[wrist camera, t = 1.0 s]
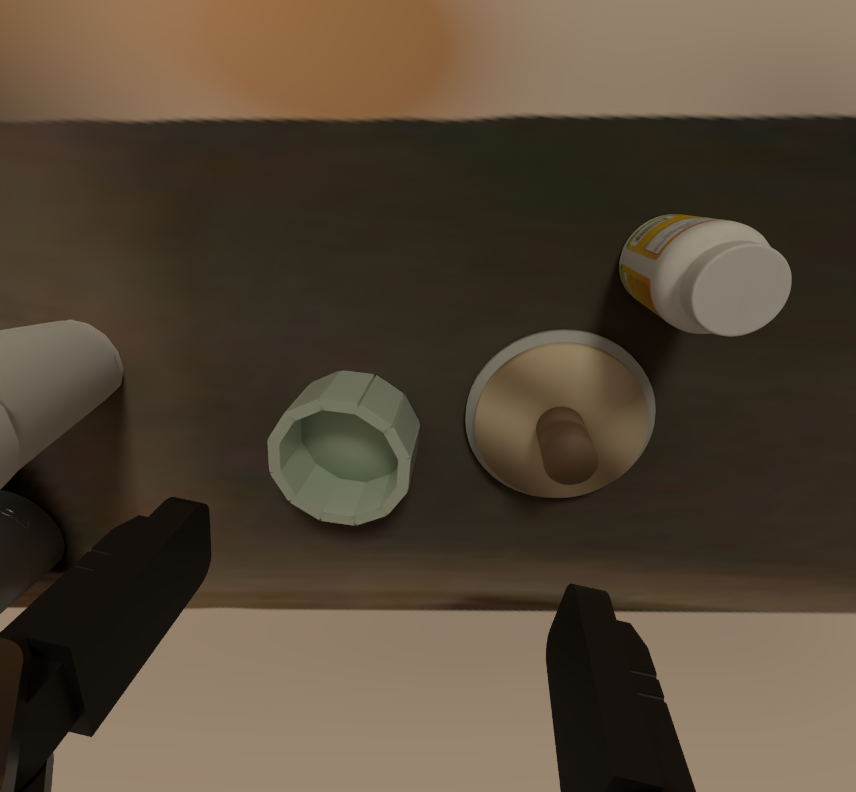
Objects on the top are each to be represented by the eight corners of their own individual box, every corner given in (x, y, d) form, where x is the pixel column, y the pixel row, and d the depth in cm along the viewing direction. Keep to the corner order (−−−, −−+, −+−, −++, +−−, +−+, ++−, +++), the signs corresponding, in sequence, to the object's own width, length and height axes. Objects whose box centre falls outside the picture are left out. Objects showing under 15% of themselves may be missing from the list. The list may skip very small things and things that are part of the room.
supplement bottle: (691, 310, 30) (777, 362, 21) (606, 296, 30) (656, 341, 21) (725, 221, 28) (837, 237, 19) (633, 206, 28) (702, 215, 19)
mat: (565, 521, 38) (566, 526, 37) (430, 431, 36) (430, 434, 35) (694, 402, 32) (698, 406, 32) (546, 289, 31) (547, 291, 30)
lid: (565, 515, 37) (578, 567, 32) (443, 433, 35) (436, 475, 30) (682, 407, 32) (719, 448, 27) (548, 307, 30) (561, 331, 25)
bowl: (375, 503, 39) (361, 545, 34) (274, 439, 37) (245, 475, 33) (444, 421, 35) (438, 456, 31) (334, 346, 34) (310, 371, 29)
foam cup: (5, 298, 35) (-240, 356, 23) (121, 297, 34) (-73, 357, 22) (50, 415, 39) (-140, 515, 27) (156, 417, 38) (6, 522, 26)
